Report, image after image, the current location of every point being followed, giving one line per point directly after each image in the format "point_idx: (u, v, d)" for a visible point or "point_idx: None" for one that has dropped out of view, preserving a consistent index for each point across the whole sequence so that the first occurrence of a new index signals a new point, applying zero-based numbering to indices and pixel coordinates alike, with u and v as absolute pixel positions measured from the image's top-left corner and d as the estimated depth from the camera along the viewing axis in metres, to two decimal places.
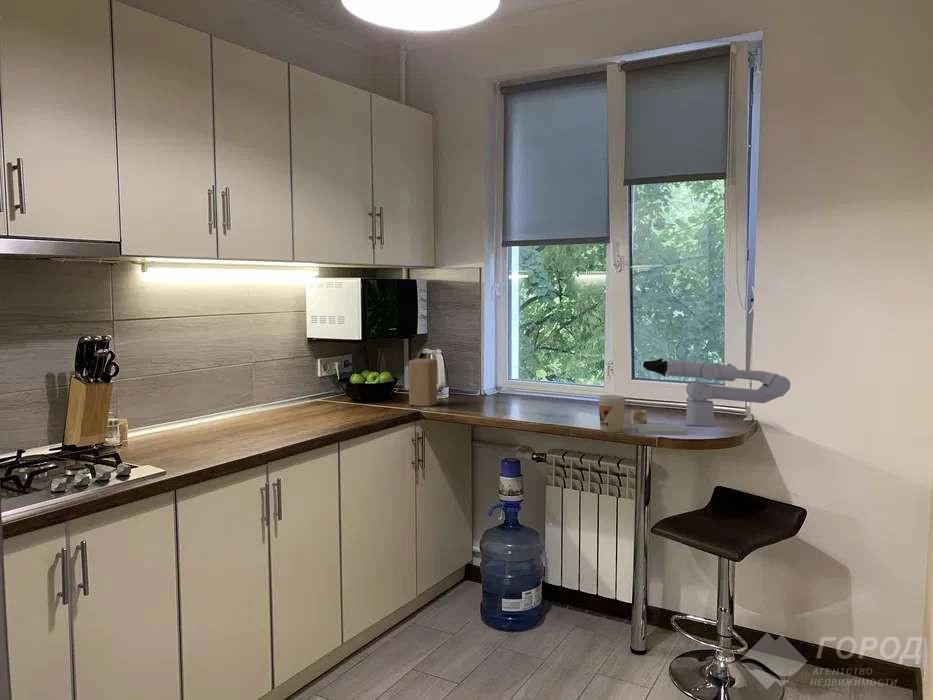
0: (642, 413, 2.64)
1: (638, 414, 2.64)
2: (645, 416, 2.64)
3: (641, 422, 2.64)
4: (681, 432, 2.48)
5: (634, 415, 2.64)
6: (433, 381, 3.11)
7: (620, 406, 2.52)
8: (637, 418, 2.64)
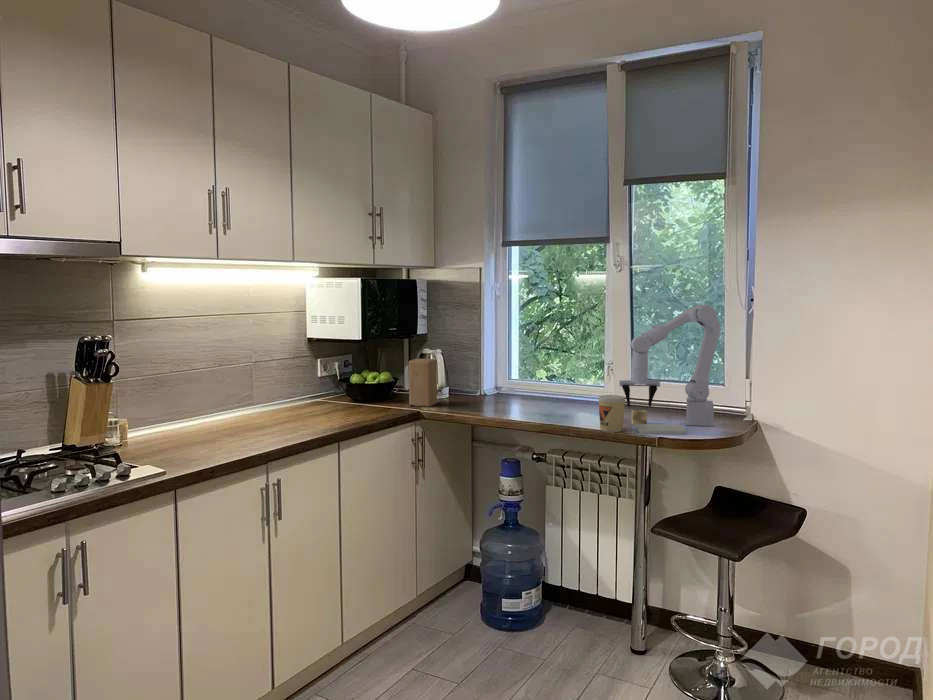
0: (642, 413, 2.64)
1: (638, 414, 2.64)
2: (645, 416, 2.64)
3: (641, 422, 2.64)
4: (681, 432, 2.48)
5: (634, 415, 2.64)
6: (433, 381, 3.11)
7: (620, 406, 2.52)
8: (637, 418, 2.64)
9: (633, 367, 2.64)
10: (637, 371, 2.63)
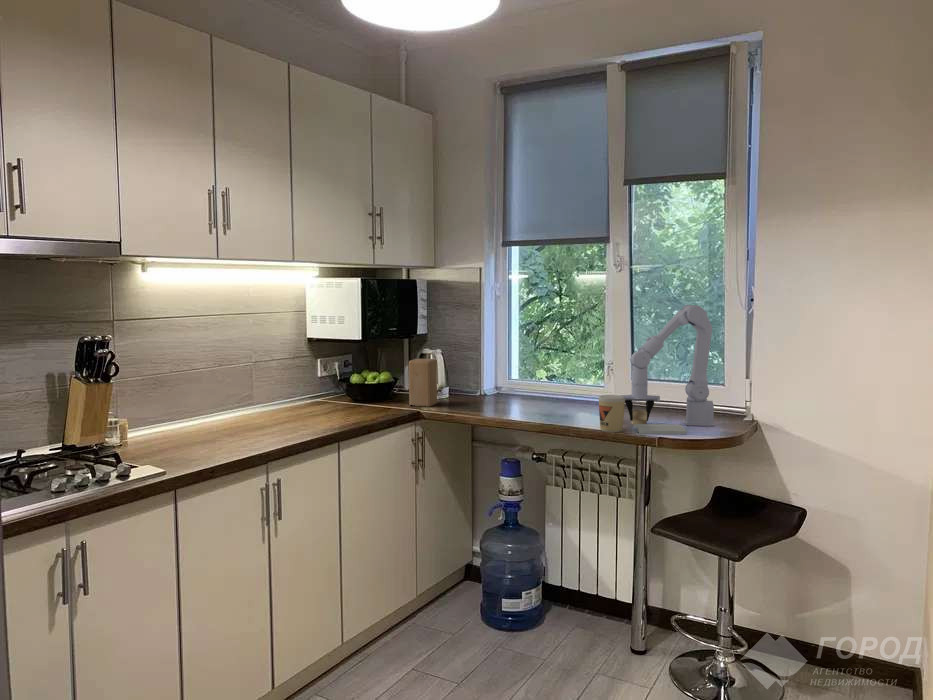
0: (642, 412, 2.64)
1: (638, 414, 2.64)
2: (645, 416, 2.64)
3: (641, 422, 2.64)
4: (681, 432, 2.48)
5: (634, 415, 2.64)
6: (433, 381, 3.11)
7: (620, 406, 2.52)
8: (637, 418, 2.64)
9: (633, 382, 2.64)
10: (637, 386, 2.63)
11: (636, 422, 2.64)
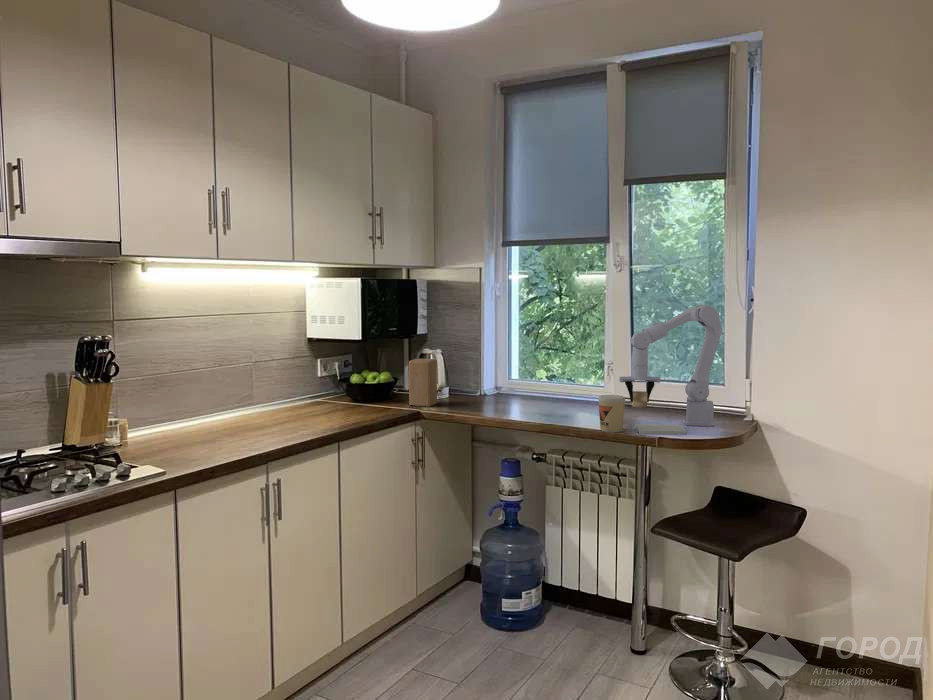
0: (642, 393, 2.63)
1: (638, 395, 2.63)
2: (645, 397, 2.63)
3: (641, 403, 2.64)
4: (681, 432, 2.48)
5: (634, 396, 2.64)
6: (433, 381, 3.11)
7: (620, 406, 2.52)
8: (637, 399, 2.64)
9: (633, 363, 2.64)
10: (637, 367, 2.63)
11: (636, 403, 2.64)
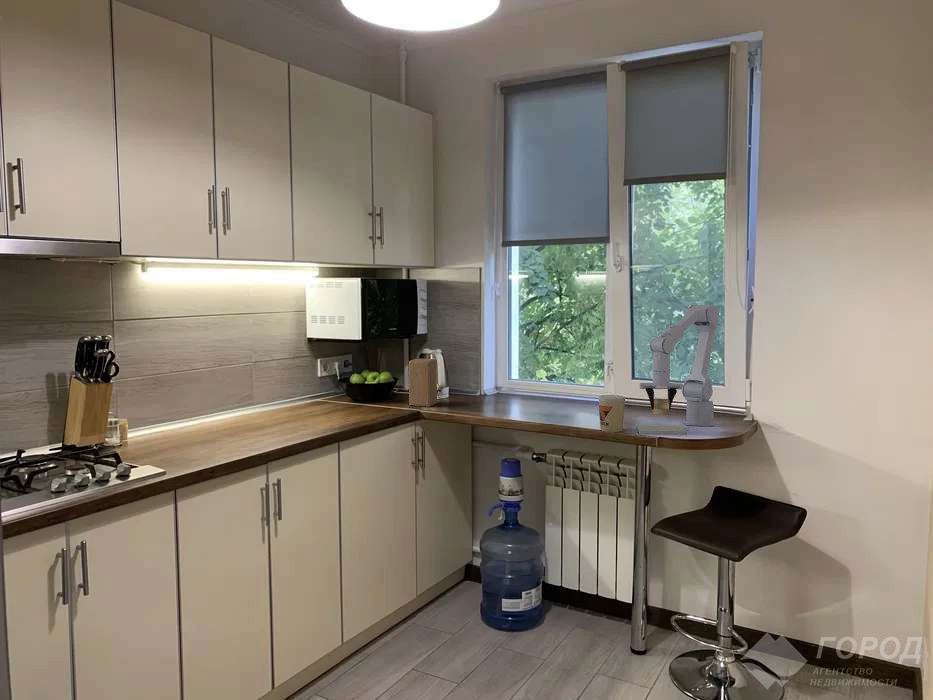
0: (664, 401, 2.51)
1: (660, 402, 2.51)
2: (667, 404, 2.51)
3: (663, 411, 2.51)
4: (681, 432, 2.48)
5: (656, 403, 2.51)
6: (433, 381, 3.11)
7: (620, 406, 2.52)
8: (659, 407, 2.51)
9: (659, 369, 2.50)
10: (659, 373, 2.50)
11: (658, 411, 2.51)
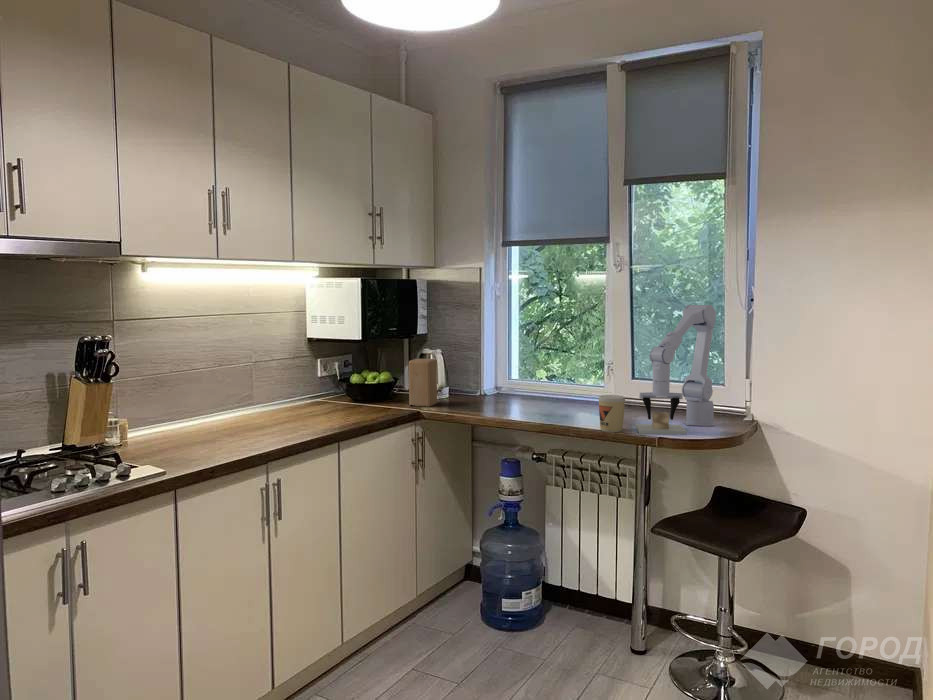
0: (663, 415, 2.51)
1: (659, 416, 2.51)
2: (667, 419, 2.51)
3: (663, 425, 2.52)
4: (681, 432, 2.48)
5: (655, 417, 2.52)
6: (433, 381, 3.11)
7: (620, 406, 2.52)
8: (658, 421, 2.52)
9: (659, 379, 2.50)
10: (658, 383, 2.50)
11: (657, 425, 2.52)
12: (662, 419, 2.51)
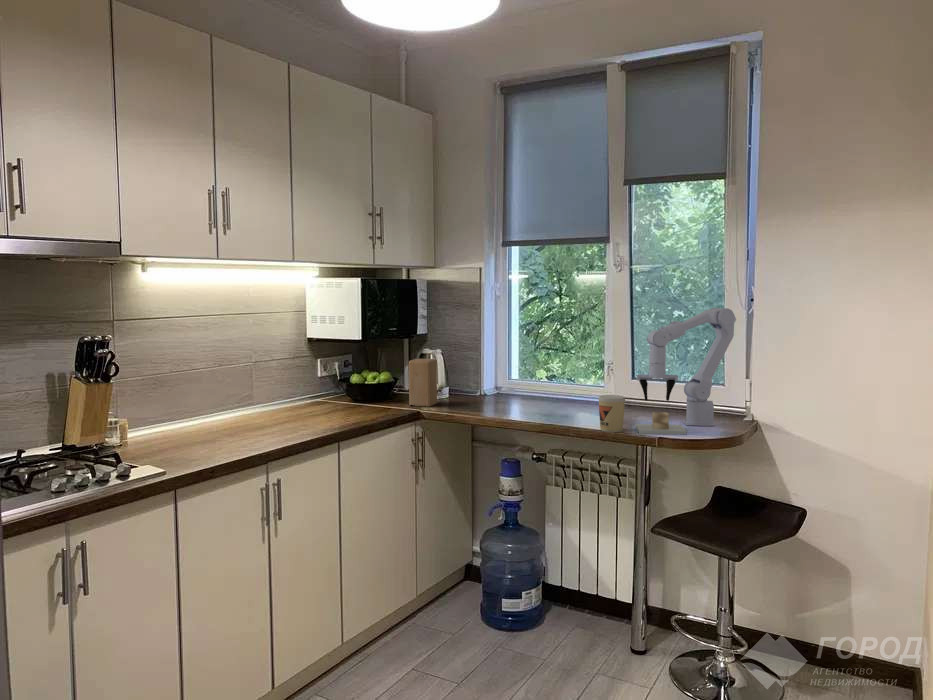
0: (663, 415, 2.51)
1: (659, 416, 2.51)
2: (667, 419, 2.51)
3: (663, 425, 2.52)
4: (681, 432, 2.48)
5: (655, 417, 2.52)
6: (433, 381, 3.11)
7: (619, 406, 2.52)
8: (658, 421, 2.52)
9: (651, 361, 2.61)
10: (655, 365, 2.60)
11: (657, 425, 2.52)
12: (662, 419, 2.51)
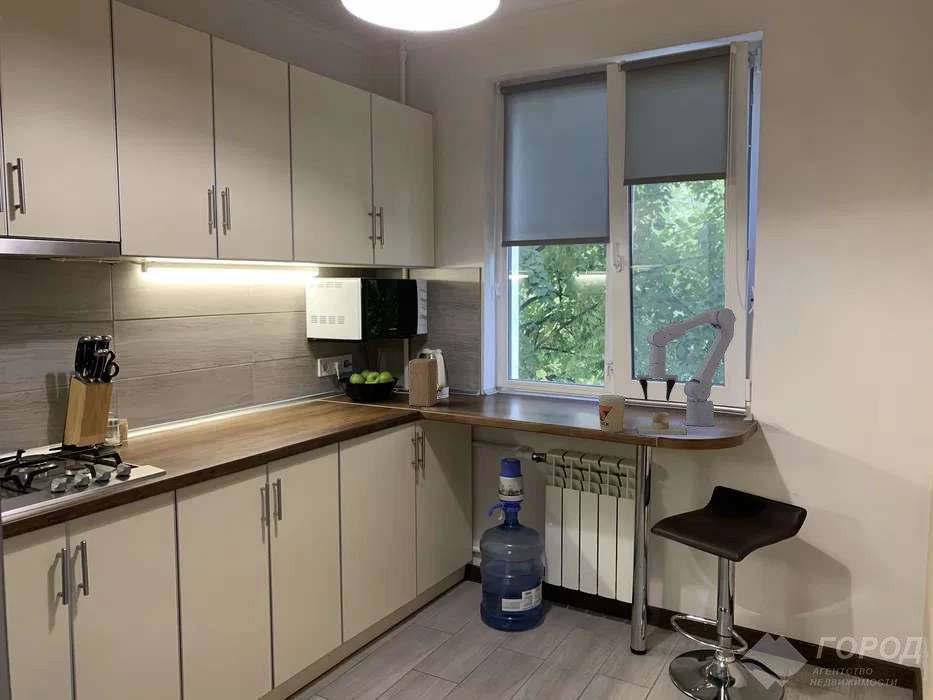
0: (663, 415, 2.51)
1: (659, 416, 2.51)
2: (667, 419, 2.51)
3: (663, 425, 2.52)
4: (681, 432, 2.48)
5: (655, 417, 2.52)
6: (433, 381, 3.11)
7: (620, 406, 2.52)
8: (658, 421, 2.52)
9: (651, 361, 2.61)
10: (655, 365, 2.60)
11: (657, 425, 2.52)
12: (662, 419, 2.51)
